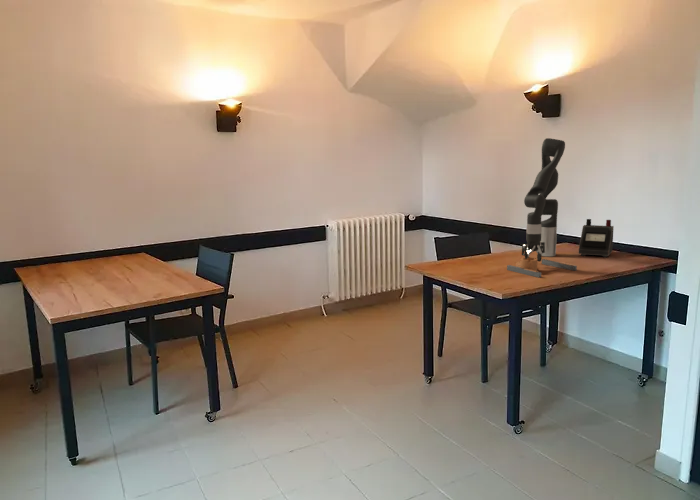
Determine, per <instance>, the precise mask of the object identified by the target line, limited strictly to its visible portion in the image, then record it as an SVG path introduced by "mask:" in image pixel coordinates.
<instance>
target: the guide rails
mask: <svg viewBox="0 0 700 500" xmlns="http://www.w3.org/2000/svg"><path fill="white" fill-rule="evenodd" d="M541 265H545V266H548V267H549V266H550V267H555V268H559V269H565V270H568V271H573V272H575V271H576V272H577V271H578V265H575V264H573V263H567V262H563V261H556V260H555V261H554V260H549V259H544V258H542V259H541ZM506 270H507V271H510V272H513V273H514V272H515V273H519V274H522V275H526V276H530V277H536V278H542V271H539V270H537V271H536V270H532V269H527V268H520V267H516V265H512V264H507V265H506Z"/></svg>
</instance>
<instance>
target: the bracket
mask: <svg viewBox="0 0 700 500" xmlns="http://www.w3.org/2000/svg"><path fill="white" fill-rule="evenodd" d="M515 266H516V267H520V268H527V269H532V270H536V271H538V261H537V257H529V258H528V257H527V259H525V257H521V258H520V261H517V262H515Z"/></svg>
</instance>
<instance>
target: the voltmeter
mask: <svg viewBox="0 0 700 500" xmlns="http://www.w3.org/2000/svg"><path fill="white" fill-rule="evenodd" d="M605 221H606V223H605V225H595V224H594V225H593V224H592V219H590V218H586V223H585V224H584V225H582V228H581V234H580V241H579V244H578V245H579V246H578V255H580V256H581V257H585V256H586V255H592V256H594V255H595V256H602V258H605V259H606V258H607V257H608V256H610V254H611V253H612V252H613V245H614V225H612V220H611V219H606V220H605Z"/></svg>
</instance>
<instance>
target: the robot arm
mask: <svg viewBox="0 0 700 500" xmlns="http://www.w3.org/2000/svg"><path fill="white" fill-rule="evenodd" d="M541 145H542V146H541V169H540V171H539V172H538V173H537V175H536V177H535V180H534V183H533V185H532V187H531V188H530V189H529V190H528V192H527V193H526V195H525V196H524V200H523V201H524V202H523V203H524V206H525V207H527V208H528V209H529V208H530V209H531V208H532V209H534V211H532V212H528V213H527V217H526V218H527V219H526V221H527V223H526V237H525V238H526V239H525V240H526V244H524V243H523V244H522V246H521V256H522V257H523V256H524V258H525V259H527V257H528V258H530V255H531V254H532V253H533V252H536V253H537V254H536V259H537V262H542V259H543V258H542V257H555V256H556V255H557V236H558V235H557V229H558V228H557V227H558V212H559V211H558V210H559V201H558V200H557V199H556V198H555V199H554V198H552V199H551V198H547V197H548V196H549V195H550V194H551V193H552V191H554V190H555V188H556V187H557V185H558V183H559V182H558V181H559V172H558V170H557V167H558V164H559V163H560V161H561V159H562V157H563V155H564V151H565V149H566V142H565V140H562V139H555V138H549V137H548V138H545V139H544V140H543V142H542V143H541ZM551 158H552V159H551ZM542 216H550V217H549V218H547V219H544V220H542Z"/></svg>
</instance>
